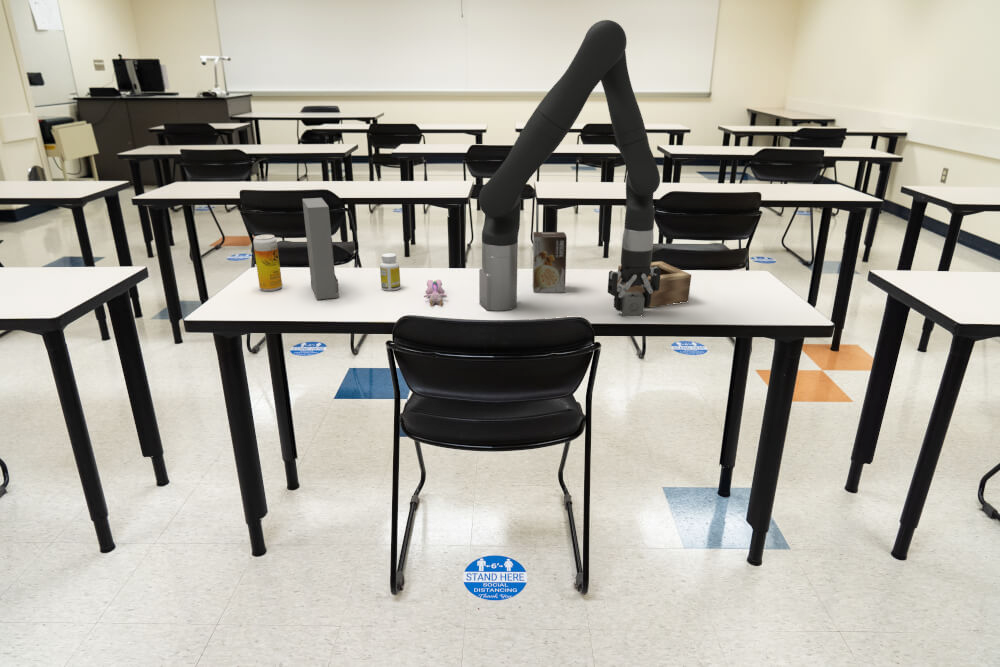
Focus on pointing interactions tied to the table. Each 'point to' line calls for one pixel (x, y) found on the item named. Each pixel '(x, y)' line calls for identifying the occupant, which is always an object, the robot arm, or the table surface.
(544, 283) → the coffee box
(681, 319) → the table surface
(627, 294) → the dice cube
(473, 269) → the table surface
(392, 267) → the supplement bottle
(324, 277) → the tall notched grey box
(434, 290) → the rabbit figure
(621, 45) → the robot arm
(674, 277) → the open wooden box
